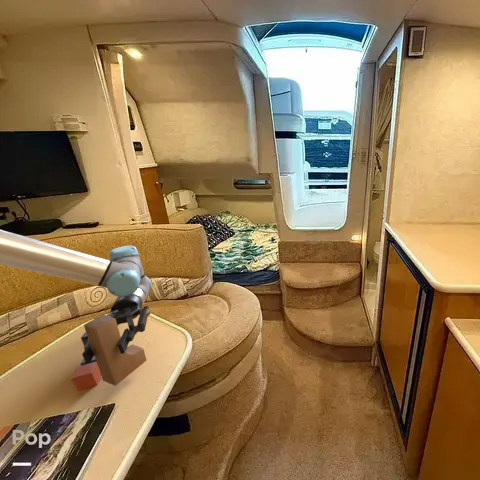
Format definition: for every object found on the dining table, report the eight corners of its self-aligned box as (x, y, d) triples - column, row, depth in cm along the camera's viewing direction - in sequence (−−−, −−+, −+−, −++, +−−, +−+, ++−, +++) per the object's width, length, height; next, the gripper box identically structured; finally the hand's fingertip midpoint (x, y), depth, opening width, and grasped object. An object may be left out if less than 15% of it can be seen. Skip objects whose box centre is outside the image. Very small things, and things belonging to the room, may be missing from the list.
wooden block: (135, 356, 76) (120, 303, 70) (147, 360, 75) (133, 307, 68) (102, 381, 68) (82, 324, 62) (115, 387, 67) (96, 329, 60)
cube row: (97, 385, 73) (91, 372, 71) (77, 391, 71) (71, 378, 70) (114, 348, 86) (110, 337, 85) (98, 352, 85) (93, 341, 83)
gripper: (166, 306, 88) (153, 353, 68) (96, 322, 82) (59, 379, 62) (160, 286, 86) (145, 329, 65) (87, 301, 79) (46, 353, 59)
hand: (104, 353), depth 64 cm, fingers closed on wooden block, 6 cm apart
